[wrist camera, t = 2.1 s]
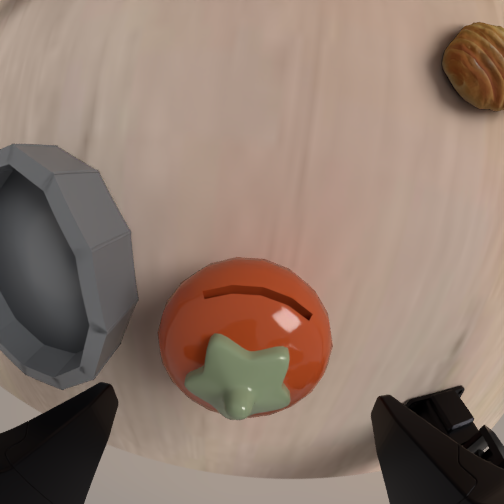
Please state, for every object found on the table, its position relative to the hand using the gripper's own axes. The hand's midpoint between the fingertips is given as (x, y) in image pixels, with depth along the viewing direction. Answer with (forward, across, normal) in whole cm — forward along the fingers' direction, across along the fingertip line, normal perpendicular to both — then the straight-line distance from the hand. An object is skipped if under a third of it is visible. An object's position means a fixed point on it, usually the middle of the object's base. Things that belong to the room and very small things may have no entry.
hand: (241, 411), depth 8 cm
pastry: (+8, -16, -17) cm, 25 cm away
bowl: (+8, +14, -2) cm, 16 cm away
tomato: (+8, 0, 0) cm, 8 cm away
